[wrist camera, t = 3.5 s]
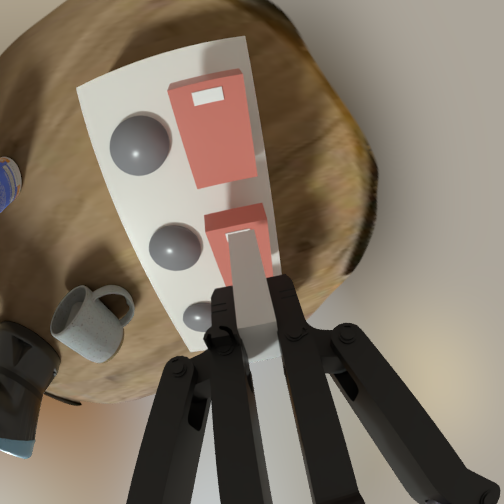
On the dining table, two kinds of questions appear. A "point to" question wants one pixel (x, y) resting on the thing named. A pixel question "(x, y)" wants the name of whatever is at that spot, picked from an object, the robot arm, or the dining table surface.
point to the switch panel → (171, 175)
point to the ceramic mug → (91, 323)
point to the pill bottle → (9, 182)
